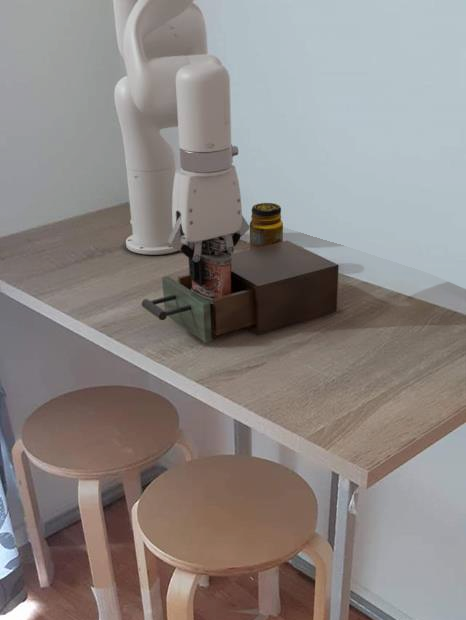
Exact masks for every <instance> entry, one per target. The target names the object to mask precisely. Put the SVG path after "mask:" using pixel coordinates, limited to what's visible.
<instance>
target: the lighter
mask: <svg viewBox="0 0 466 620" xmlns="http://www.w3.org/2000/svg"><path fill="white" fill-rule="evenodd" d="M225 250H227V243H226V242H225V241H223V240H219V239H217V238H213V239H209V240H205V241H202V249H201V257H200V259H201V260H202V261H203V262H204V275H205V284H204V285H203V286H200V285H198V284H197V283H195V282H193V281H192V288H191V291H192V292H194V293H196V294H197V295H199V296H200V297H202V298H203V299H205V300H206V301H208V302H210V303H211V304H213V299H214V298H218V297H222V296H225V295H229V294H231V270H230V263H231V255H229V254H227V253H225V252H222V251H225Z"/></svg>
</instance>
